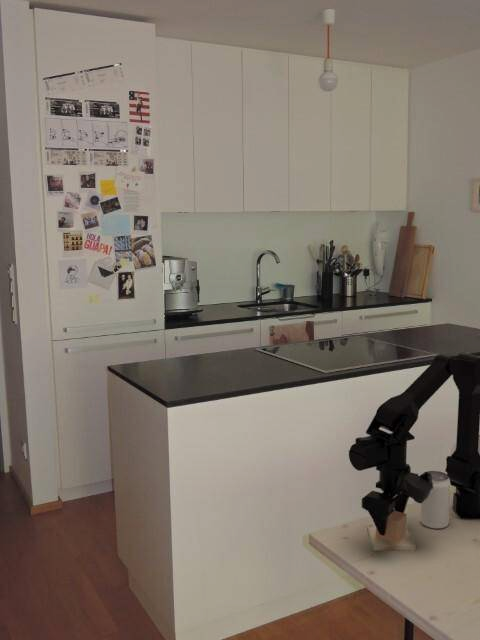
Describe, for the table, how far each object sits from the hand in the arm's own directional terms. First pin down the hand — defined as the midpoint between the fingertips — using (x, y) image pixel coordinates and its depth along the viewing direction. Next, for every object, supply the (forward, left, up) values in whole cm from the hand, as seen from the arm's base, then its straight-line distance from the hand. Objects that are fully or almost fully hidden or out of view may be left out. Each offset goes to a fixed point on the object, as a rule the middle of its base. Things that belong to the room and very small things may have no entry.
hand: (391, 526), depth 146 cm
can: (-12, -8, -3) cm, 15 cm away
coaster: (0, 0, -3) cm, 3 cm away
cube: (0, 0, -2) cm, 2 cm away
